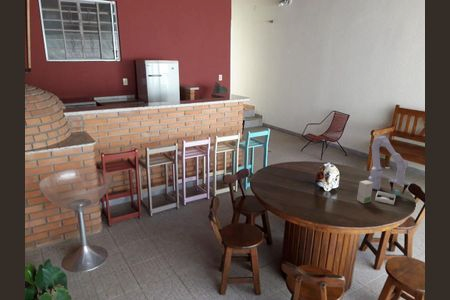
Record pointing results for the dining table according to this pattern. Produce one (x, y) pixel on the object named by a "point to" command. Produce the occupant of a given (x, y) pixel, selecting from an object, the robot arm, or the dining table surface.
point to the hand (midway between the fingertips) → (397, 192)
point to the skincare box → (364, 191)
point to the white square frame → (386, 196)
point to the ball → (397, 192)
